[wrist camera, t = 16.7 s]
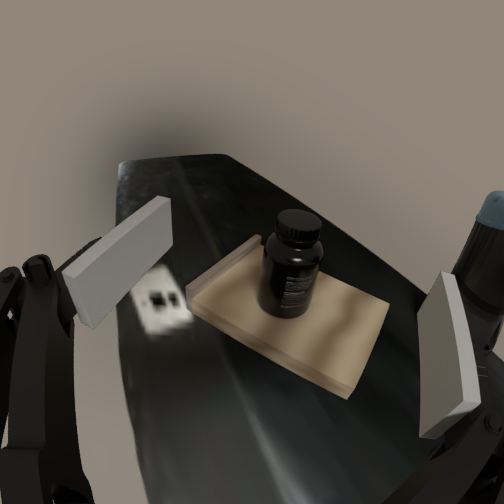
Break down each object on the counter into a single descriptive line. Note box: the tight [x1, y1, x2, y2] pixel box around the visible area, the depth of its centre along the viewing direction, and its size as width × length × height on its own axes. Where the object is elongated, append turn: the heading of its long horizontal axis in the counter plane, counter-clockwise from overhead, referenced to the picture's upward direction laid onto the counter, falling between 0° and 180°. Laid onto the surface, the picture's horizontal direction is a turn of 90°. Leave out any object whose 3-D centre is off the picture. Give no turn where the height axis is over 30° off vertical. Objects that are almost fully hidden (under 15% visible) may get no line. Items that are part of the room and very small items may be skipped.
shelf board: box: [186, 234, 390, 399], centre depth 39 cm, size 23×16×4 cm
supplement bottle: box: [257, 209, 324, 319], centre depth 35 cm, size 7×7×12 cm
